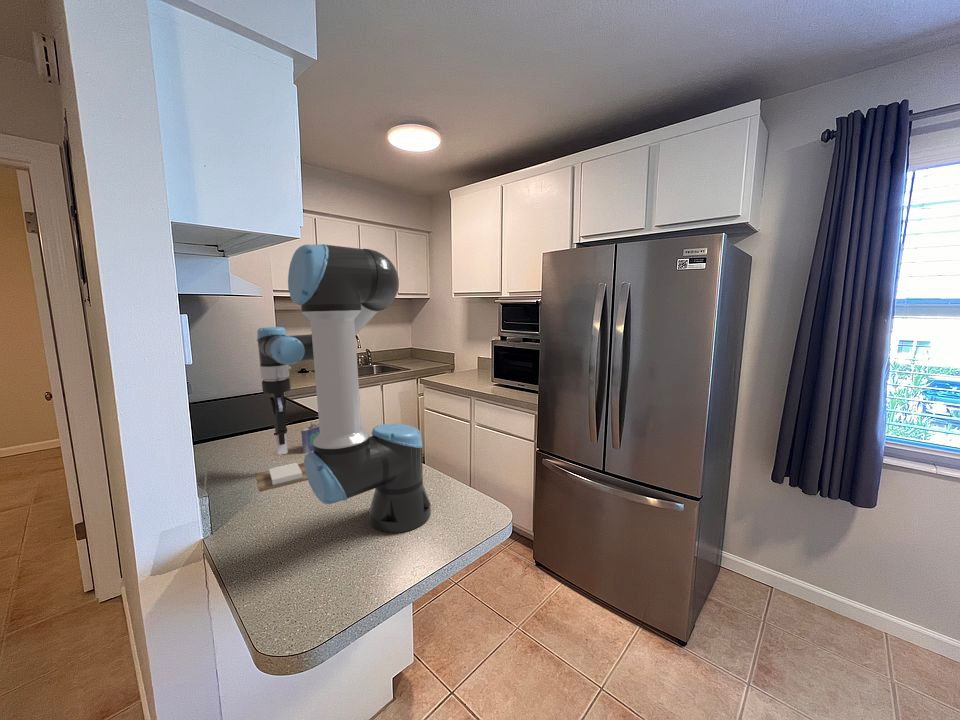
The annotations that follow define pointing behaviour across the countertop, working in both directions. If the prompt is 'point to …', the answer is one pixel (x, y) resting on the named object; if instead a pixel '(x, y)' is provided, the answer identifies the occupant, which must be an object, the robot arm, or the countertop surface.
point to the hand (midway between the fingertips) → (282, 453)
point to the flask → (309, 437)
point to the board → (266, 484)
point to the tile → (285, 473)
